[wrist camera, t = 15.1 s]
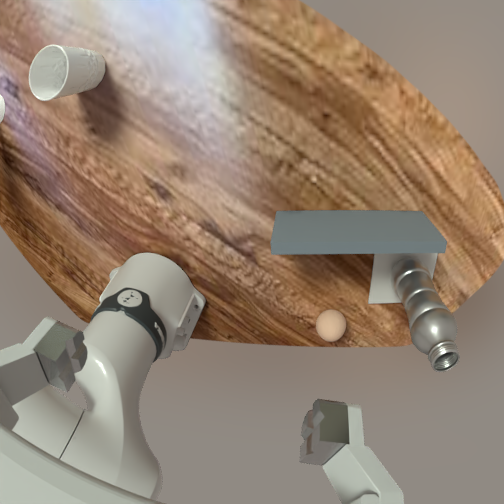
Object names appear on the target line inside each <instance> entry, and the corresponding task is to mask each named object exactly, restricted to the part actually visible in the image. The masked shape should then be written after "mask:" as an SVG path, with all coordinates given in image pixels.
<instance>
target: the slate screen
mask: <svg viewBox="0 0 504 504" xmlns="http://www.w3.org/2000/svg"><path fill="white" fill-rule="evenodd" d="M446 244H447V241H446V240H445V238H444V237H443V236H442V235H441V233H440V232H439V231H438V230H437V229H436V227H435V226H434V225H433V224H432V223H431V221H430V220H429V219H428V218H427V217H426V215H425V214H424V213H423V212H422V211H376V210H317V211H277V212H276V217H275V222H274V228H273V233H272V238H271V254H393V253H445V249H446Z"/></svg>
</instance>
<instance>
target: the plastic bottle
mask: <svg viewBox="0 0 504 504" xmlns="http://www.w3.org/2000/svg"><path fill="white" fill-rule="evenodd" d="M391 284H392V288H393V289H394V291H395V293H396V294H397V296H398V297H399V298H400V300H401V302H402V304H403V305H404V307H405V310H406V313H407V317H408V320H409V327H410V333H411V338H412V342H413V344H414V345H415V346H416V348H417V349H418V350H419V351H421V352H423V353H425V354H427V355H428V359H429V361H430V362H431V365H432V367H433V369H434V370H435V371H436V372H444V371H447V370H450V369H451V368H453V367H454V366H455V365H456V364H457V363H458V361H459V358H460V356H459V352H458V350H457V346H456V344H455V342H454V341H455V338H456V335H457V323H456V320H455V318H454V316H453V314H452V313H451V312H450V311H449V309H448V308H447V307H446V306H445V304H444V303H443V302H442V300H441V298H440V297H439V295H438V294H437V292H436V290H435V287H434V285H433V282H432V279H431V275H430V272H429V269H428V268H427V266H426V265H425V264H424V263H423V262H422V261H420V260H419V259H417V258H405V259H402V260H400V261H399V262H398V263H397V264H396V265H395V266H394V267H393V269H392V272H391Z"/></svg>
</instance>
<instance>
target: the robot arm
mask: <svg viewBox="0 0 504 504" xmlns="http://www.w3.org/2000/svg"><path fill="white" fill-rule="evenodd" d="M109 276H110V282H109V284H108V285H107V287H106V289H105V290H104V292H103V293H102V295H101V296H100V305H98V307H97V308H96V310H95V311H94V314H93V315H92V318H91V322H90V324H89V325H88V326H87V328H86V329H85V330H84V332H81V331H79V330H77V329H75V328H73V327H70V326H68V325H66V324H64V323H62V322H60V321H58V320H55V319H53V318H51V317H46V318H44V319H43V321H42V322H41V323H40V324H39V325H38V326H37V327H36V329H35V330H34V331H33V332H32V333H31V335H30V336H29V337H28V338H27V339H26V340H25V342H24V343H23V344H20V343H19V344H16V345H13V346H11V347H8V348H5V349H3V350H0V504H165V503H161V502H158V501H156V500H157V498H158V496H159V494H160V492H161V488H162V471H161V467H160V464H159V462H158V460H157V458H156V457H155V456H154V454H153V452H152V451H151V449H150V447H149V445H148V443H147V442H146V439H145V436H144V433H143V430H142V426H141V421H140V415H139V400H140V394H141V391H142V388H143V385H144V382H145V379H146V377H147V374H148V372H149V370H150V367H151V365H152V363H153V362H154V361H156V360H157V359H164V358H168V357H169V356H170V355H171V352H172V350H173V351H179V350H184V349H185V348H186V346H187V344H188V342H189V339H190V337H191V335H192V332H193V330H194V328H195V326H196V323H197V321H198V319H199V317H200V314H201V312H202V310H203V308H204V305H205V303H206V299H205V297H204V296H203V295H202V294H201V293H200V292H199V291H198V290H196V289H195V288H194V286H193V285H192V283H191V281H190V280H189V278H188V276H187V275H186V273H185V272H184V271H183V270H182V269H181V268H180V267H179V266H178V265H177V264H175V263H174V262H173V261H171V260H169V259H168V258H166V257H163V256H161V255H158V254H153V253H140V254H136V255H134V256H132V257H130V258H129V259H128V260H127V261H126V262H125V263H124V265H123V266H121V267H118V268H115V269H113V270H112V271H111V273H110V275H109ZM196 305H198V306H196ZM74 381H76V383H77V384H78V386H79V388H80V389H81V391H82V393H83V395H84V397H85V399H86V403H87V409H88V411H87V410H85V409H84V410H83V409H82V408H81V407H80V406H78V405H77V404H75V403H74V402H72V401H71V400H70V399H68V398H67V397H65V396H64V395H63V394H61V393H60V392H59V391H57V390H56V389H55V388H53V387H52V386H51V385H53V386H55V387H57V388H59V389H61V390H63V391H65V392H68V391H69V389H70V388H71V386H72V384H73V383H74ZM50 384H51V385H50ZM301 435H302V437H303V438H304V440H305V441H304V443H303V444H302V445H301V448H300V462H301V463H307V464H315V465H323V469H324V471H325V472H326V475H327V476H328V478H329V480H330V482H331V484H332V486H333V488H334V490H335V492H336V493H337V495H338V497H339V499H340V501H341V503H342V504H404V500H403V492H402V490H401V489H400V488H399V486H398V485H397V484H396V482H395V481H394V480H393V478H392V477H391V476H390V474H389V473H388V472H387V470H386V469H385V468H384V466H383V465H382V464H381V462H380V461H379V460H378V458H377V457H376V456H375V454H374V453H373V452H372V450H371V449H370V448H369V447H368V446H365V444H364V432H363V420H362V410H361V407H360V405H357V404H348V403H344V402H337V401H329V400H322V399H317V400H316V401H315V402H314V403H313V409H312V410H310V411H308V413H307V414H306V416H305V418H304V421H303V425H302V432H301Z"/></svg>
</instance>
